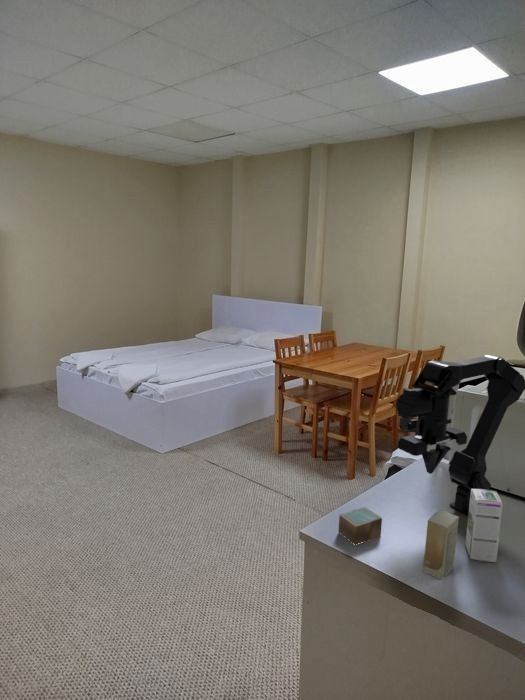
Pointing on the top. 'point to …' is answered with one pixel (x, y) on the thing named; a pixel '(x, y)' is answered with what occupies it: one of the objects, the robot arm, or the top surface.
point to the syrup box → (483, 525)
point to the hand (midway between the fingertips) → (429, 472)
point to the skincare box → (440, 544)
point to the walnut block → (360, 525)
